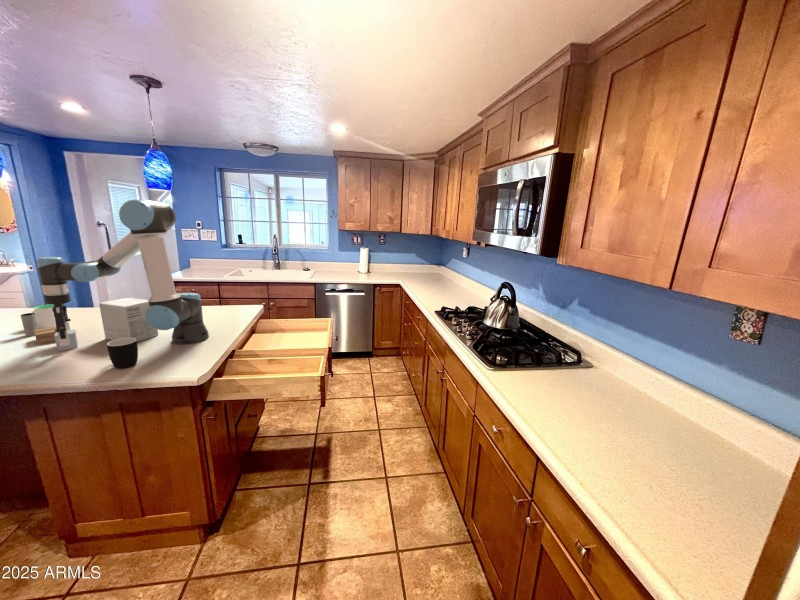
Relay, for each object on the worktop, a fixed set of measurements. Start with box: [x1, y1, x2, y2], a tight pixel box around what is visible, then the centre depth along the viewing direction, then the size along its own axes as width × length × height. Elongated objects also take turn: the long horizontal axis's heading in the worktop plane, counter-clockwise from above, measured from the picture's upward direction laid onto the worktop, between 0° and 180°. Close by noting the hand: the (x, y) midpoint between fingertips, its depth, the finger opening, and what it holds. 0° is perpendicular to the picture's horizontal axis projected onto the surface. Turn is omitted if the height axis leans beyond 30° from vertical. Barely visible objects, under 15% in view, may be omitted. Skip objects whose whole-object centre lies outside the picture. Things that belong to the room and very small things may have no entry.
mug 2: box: [28, 304, 56, 329], centre depth 160 cm, size 12×8×10 cm, turn 160°
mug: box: [106, 338, 139, 370], centre depth 125 cm, size 12×9×10 cm
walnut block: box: [35, 327, 60, 346], centre depth 146 cm, size 9×9×5 cm
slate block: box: [55, 329, 79, 352], centre depth 138 cm, size 6×6×7 cm
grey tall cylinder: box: [20, 312, 40, 337], centre depth 150 cm, size 4×4×10 cm
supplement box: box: [98, 297, 159, 343], centre depth 152 cm, size 17×13×18 cm
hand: (66, 340), depth 139 cm, fingers open, 13 cm apart
